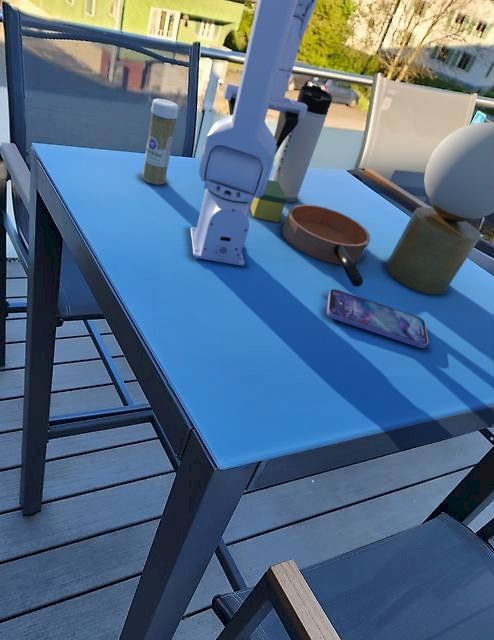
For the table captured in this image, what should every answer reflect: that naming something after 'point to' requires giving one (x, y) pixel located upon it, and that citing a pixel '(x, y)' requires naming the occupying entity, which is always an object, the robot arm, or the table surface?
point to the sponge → (269, 203)
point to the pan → (324, 233)
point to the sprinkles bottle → (159, 141)
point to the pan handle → (348, 265)
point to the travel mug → (301, 142)
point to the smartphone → (377, 318)
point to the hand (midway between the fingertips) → (252, 150)
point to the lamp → (447, 211)
